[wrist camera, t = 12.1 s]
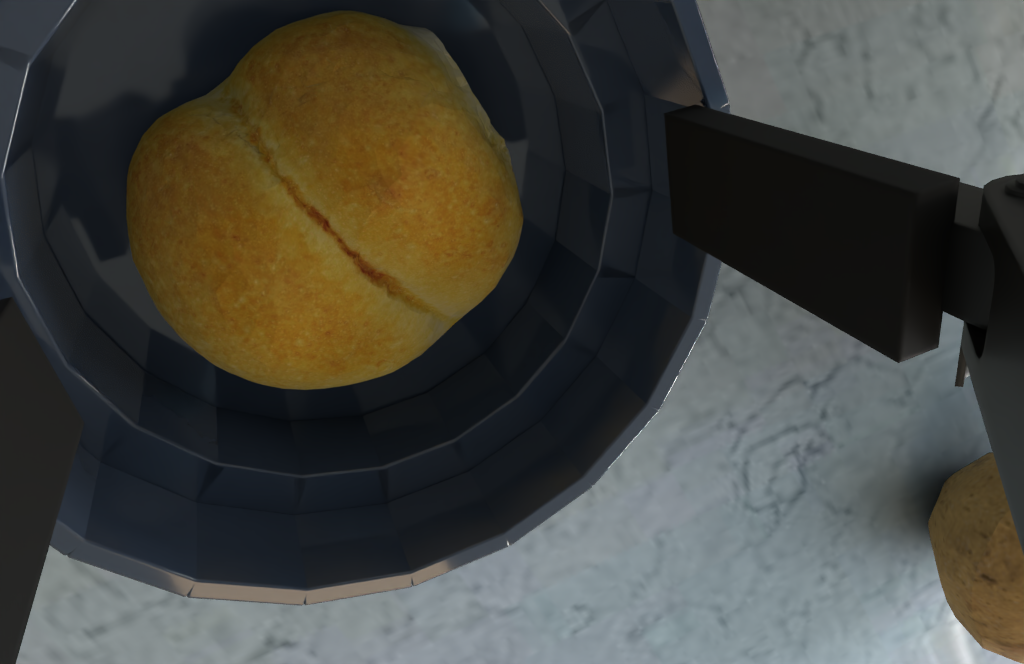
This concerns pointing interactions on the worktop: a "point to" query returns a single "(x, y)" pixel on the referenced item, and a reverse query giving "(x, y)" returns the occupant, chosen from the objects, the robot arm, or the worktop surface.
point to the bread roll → (324, 205)
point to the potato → (980, 557)
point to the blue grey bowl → (383, 400)
